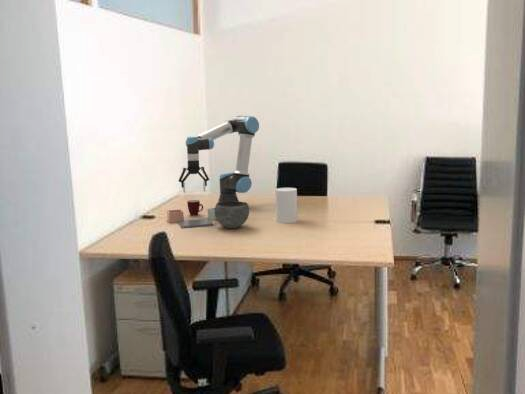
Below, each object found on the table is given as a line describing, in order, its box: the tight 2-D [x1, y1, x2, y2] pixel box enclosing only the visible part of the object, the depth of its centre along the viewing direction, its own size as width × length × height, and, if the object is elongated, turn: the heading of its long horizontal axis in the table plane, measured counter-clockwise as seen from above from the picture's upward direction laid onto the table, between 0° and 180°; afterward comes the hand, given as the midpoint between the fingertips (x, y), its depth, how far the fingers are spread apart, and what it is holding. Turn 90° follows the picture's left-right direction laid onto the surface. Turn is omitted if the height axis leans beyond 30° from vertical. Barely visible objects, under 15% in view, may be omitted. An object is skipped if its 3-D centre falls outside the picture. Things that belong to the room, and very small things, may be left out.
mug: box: [187, 199, 204, 216], centre depth 388 cm, size 11×8×10 cm
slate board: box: [176, 218, 214, 229], centre depth 363 cm, size 20×16×1 cm
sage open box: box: [207, 207, 218, 222], centre depth 375 cm, size 8×8×7 cm
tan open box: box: [166, 208, 185, 224], centre depth 370 cm, size 9×9×7 cm
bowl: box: [214, 201, 250, 229], centre depth 351 cm, size 21×21×15 cm
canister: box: [274, 187, 298, 224], centre depth 365 cm, size 14×14×20 cm
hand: (194, 191), depth 386 cm, fingers open, 13 cm apart
